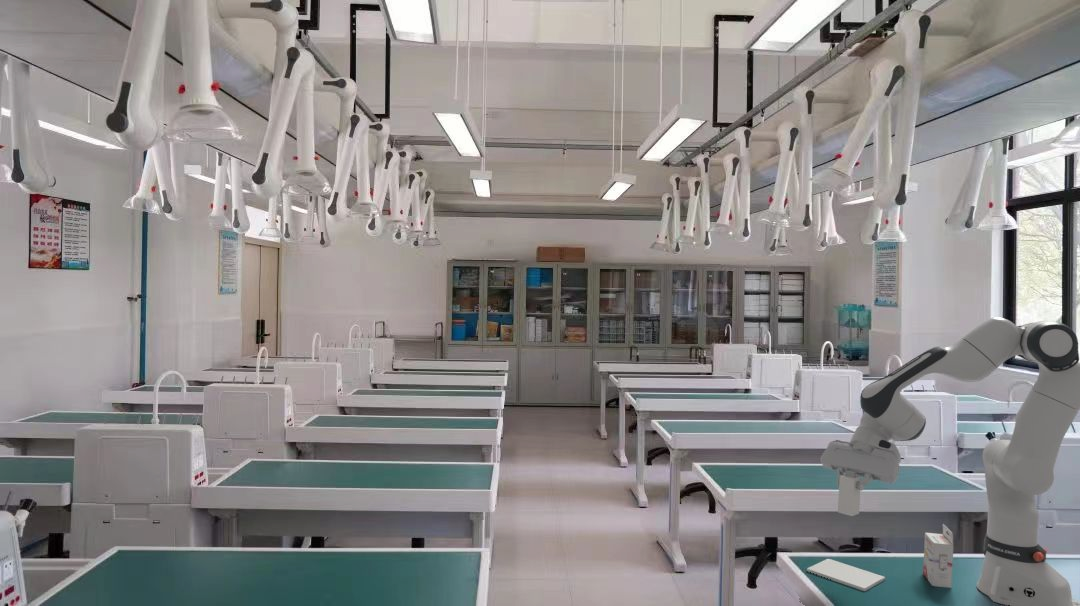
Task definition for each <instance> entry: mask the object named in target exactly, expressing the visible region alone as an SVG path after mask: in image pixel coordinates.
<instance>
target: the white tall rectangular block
mask: <svg viewBox="0 0 1080 606" xmlns="http://www.w3.org/2000/svg"><path fill="white" fill-rule="evenodd" d="M857 481H860V482H861V481H862V477H860V476H856V472H853V471H849V470H846V471H845V474H844V475H841V476H840V481H839V485H838V486H839V487H838V500H837V502H838V504H837V513H838V514H842V515H846V516H850V517H854V516H856V515H857V516H858V515H859V514H860V507H861V506H860V505H861V502H860V501H861V490H857V489H856V484H857Z"/></svg>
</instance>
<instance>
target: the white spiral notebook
mask: <svg viewBox="0 0 1080 606" xmlns="http://www.w3.org/2000/svg"><path fill="white" fill-rule="evenodd" d="M807 571H808V573H810V572H811V573H810V574H813V573H814V574H813V575H816V574H817V575H816V576H819V577H821V576H822V578H824V577H825V579H827V578H828V579H827V580H830V579H831V580H830V581H833V582H836V583H838V584H842V585H845V586H847V587H850V588H854V589H856V590H859V591H862V592H866V591H868V590H870V589H871V588H874V587H875V586H877V585H878V584H880V583H882V582H884V581H885V580H886V577H885V576H884V575H879V574H876V573H874V572H871V571H869V570H864V569H861V568H859V567H856V566H852V565H850V564H846V563H843V562H841V561H837V560H834V559H831V558H826V559H824V560H822V561H820V562H818V563H815V564H814V565H811V566H808V567H807V568H806V572H807Z"/></svg>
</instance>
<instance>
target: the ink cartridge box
mask: <svg viewBox="0 0 1080 606" xmlns="http://www.w3.org/2000/svg"><path fill="white" fill-rule="evenodd" d="M923 548H924V550H923V567H922V574H923V576H925V578H926V579H927V581H928V583H930V585H931V587H939V588H947V589H948V588H949V589H951V588H952V586H953V585H952V583H953V566H954V565H953V564H954V563H953V562H954V533H953V532H952V531H951V530H950V529H949V528H948V527H947V526H946V525H945V524H944V523H942V533H935V532H934V533H932V532H924V547H923Z"/></svg>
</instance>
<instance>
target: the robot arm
mask: <svg viewBox="0 0 1080 606" xmlns="http://www.w3.org/2000/svg"><path fill="white" fill-rule="evenodd" d="M1016 356H1018V357H1020V358H1022V359H1023V360H1025V361H1028V362H1032V363H1035V364H1037V366H1038V369H1039V370H1038V371H1039V372H1038V376H1037V379H1036V381H1035V382H1034V384H1033V386H1032V387H1031V390H1030V391H1029V393H1028V394H1027V395H1026V398H1025V399H1024V401H1023V403H1022V405H1021V407H1019V409H1018V412H1017V413H1016V415H1015V420H1014V421H1015V424H1014V428H1013V432H1012V434H1011V439H996V440H993V441H990V442H989V443H988V444H986V446H985V447H984V448H983V451H982V456H981V457H982V461H983V465H984V477H985V478H984V479H985V487H986V495H987V526H986V533H985V535H984V540H983V556H984V560H983V564H982V568H981V572H980V576H979V578H978V581H977V583H976V588H977V589H978V590H979V591H980V592H981V593H982V594H984V595H986V596H988V597H989V599H990V600H991V601H993V602H994V603H996V604H997V603H998V604H1001V605H1005V606H1008V605H1010V606H1080V601H1079V600H1076V599H1074V598H1073V596H1072V588H1071V585H1070V583H1069V580H1067V578H1065V577H1064V576H1063V575H1062V574H1060V572H1058V571H1057V570H1056V569H1055V568H1054V567H1053V566H1052V565H1050V564H1049V563H1048V562H1047V560H1046V559H1047V553H1048V548H1047V547H1045V548H1043V547H1042V546H1041V545H1040V544H1039V543H1038V538H1039V536H1038V534H1039V519H1040V516H1039V515H1040V513H1039V509H1038V507H1037V503H1036V498H1035V496H1037V495H1041V494H1044V493H1046V492H1048V491H1049V489H1050V488H1051V487H1052V486H1053V483H1054V478H1055V475H1054V468H1055V465H1056V462H1057V458H1058V455H1059V452H1060V451H1059V450H1060V448H1061V445H1062V442H1063V439H1064V438H1065V435H1066V433H1067V432H1068V430H1069V429H1070V427H1071V425H1072V423H1074V420H1075V419H1076V416H1077V415H1078V414H1079V411H1080V355H1079V339H1078V337H1077V334H1076V333H1075V331H1074V329H1072V328H1071V327H1069V326H1068V325H1066V324H1064V323H1062V322H1058V321H1051V320H1050V321H1049V320H1040V321H1036V322H1029V323H1026V324H1022V325H1016V324H1015V323H1013V322H1012V321H1011V320H1009V319H1006V318H1004V317H1000V316H995V317H991V318H989V319H987V320H986V321H984V322H982V323H981V324H979V325H978V326H976V327H974V328H973V329H972V330H971V331H969V332H968V333H966V334H965V335H964V336H963V337H962V338H961V339H960V340H958V341H957V342H954V343H953V344H951V345H948V346H945V347H943V346H934V347H932V348H929V349H927V350H925V351H924V352H922V353H920V354H919V355H917V356H915V357H914V358H913V359H911V360H909V361H908V362H905V364H903V365H901V366H900V367H898V368H897V369H895V370H893V371H892V372H890V373H889V374H887V375H885V376H884V377H881V378H880V379H877V380H875V381H873V382H871V383H870V384H868V385H866V386H865V387H864V388H863V390H861V392H860V397H859V398H860V407H861V410H862V411H863V413H862V416H861V418H860V422H859V425H858V426H857V428H856V429H855V431H854V432H853V434H852V437H851V439H850V441H843V440H840V439H835V440H832V441H829V443H828V445H827V447H826V448H825V449H824V451H823V452H822V454H821V456H820V460H819V461H820V463H821V465H822V467H823V468H824V469H827V470H830V471H834V472H835V471H836V474H837V477H836V481H835V482H836V485H837V486H839V481H840V476H841V475H844V474H845V471H846V470H849V471H853V472H856V476H859V477H861V478H863V479H861V482H860V481H857V484H856V489H857V490H860V492H861V491H862V492H863V490H864V488H865V487H866V486H868V485H869V484H871V483H872V482H873V480H874V481H878V482H882V483H886V484H889V485H890V484H893V483H895V482H896V481H897V479H898V476H899V474H900V471H901V470H900V469H901V467H900V463H901V462H902V456H901V454H900V453H901V452H899V449H898V447H897V446H896V444H895V443H893V442H891V440H892V441H896V442H907V441H914V440H917V439H918V438H919V437H920V436H921V435H922V434H923V432H924V430H925V428H926V424H927V421H926V419H927V418H926V416H925V415H924V414H923V413H922V412H921V410H919V409H918V408H917V407H916V406H915V405H914V404H913V403H912V402H910V401H909V400H908V399H907V398H906V397H905V396H904V395H902V393H901V391H902V390H904V389H905V388H908V387H909V386H910V385H912V384H914V383H915V382H917V381H918V380H920V379H921V378H923V377H924V376H925V377H926V376H927V375H930V374H939V375H943V376H946V377H949V378H951V379H953V380H957V381H960V382H966V383H976V382H980V381H982V380H984V379H986V378H987V377H989V376H990V375H991V374H993V372H994V371H996V370H997V369H998V368H1000V367H1001V366H1002V365H1003V364H1004V363H1005V362H1006V361H1007V360H1009V359H1011V358H1012V357H1016Z"/></svg>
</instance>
